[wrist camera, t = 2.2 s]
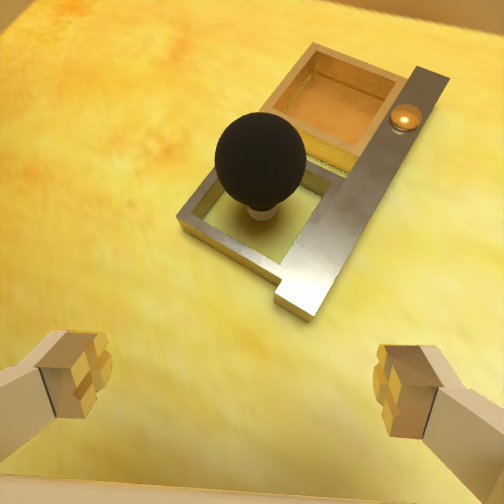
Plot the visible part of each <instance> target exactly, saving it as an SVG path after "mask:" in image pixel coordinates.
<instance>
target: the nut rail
mask: <svg viewBox="0 0 504 504" xmlns="http://www.w3.org/2000/svg"><path fill="white" fill-rule="evenodd" d="M312 74H313V76H312V77H311V78H310V76H311V75H312ZM309 78H310V79H309ZM308 79H309V81H308V82H307V80H308ZM449 80H450V78H448V77H445V76H443V75H440V74H437V73H435V72H432V71H429V70H427V69H424V68H421V67H419V66H416V68H415V69H414V71H413V73H412V74H411V76H410V77H409V79H407V78H404V77H401V76H399V75H396V74H394V73H391V72H389V71H386V70H383V69H381V68H378V67H376V66H373V65H370V64H368V63H365V62H363V61H360V60H358V59H355V58H352V57H350V56H347V55H345V54H342V53H340V52H337V51H334V50H332V49H329V48H327V47H324V46H322V45H319V44H316V43H314V42H313V43H312V44H311V45H310V46H309V48H308V49H307V50H306V51H305V53H304V54H303V55H302V56H301V58H300V59H299V60H298V62H297V63H296V64H295V65H294V67H293V68H292V69H291V70H290V72H289V73H288V74H287V75H286V77H285V78H284V79H283V81H282V82H281V83H280V84H279V86H278V87H277V88H276V89H275V91H274V92H273V93H272V94H271V96H270V97H269V98H268V100H267V101H266V102H265V103H264V105H263V106H262V107H261V108H260V110H259V112H265V113H271V114H275V115H278V116H280V117H282V118H283V119H285V120H287V121H288V122H289V123H290V124H291V125H292V126H293V127H294V128H295V129H296V130H297V131H298V133H299V134H300V136H301V138H302V140H303V143H304V147H305V151H306V153H307V154H309V155H312V156H314V157H316V158H318V159H320V160H322V161H324V162H326V163H328V164H330V165H332V166H335V167H337V168H339V169H341V170H343V171H345V172H347V173H349V175H348V176H347V178H346V179H345V178H343V177H341V176H339V175H337V174H335V173H332V172H330V171H328V170H326V169H324V168H322V167H320V166H318V165H316V164H314V163H312V162H310V161H308V160H306V168H305V173H304V176H303V178H302V181H301V183H300V184H299V185H301V186H303V187H305V188H307V189H309V190H311V191H313V192H315V193H317V194H319V195H321V196H323V198H322V199H321V201H320V203H319V204H318V206H317V207H316V209H315V210H314V212H313V213H312V215H311V217H310V218H309V220H308V221H307V223H306V224H305V226H304V228H303V229H302V231H301V232H300V234H299V235H298V237H297V239H296V240H295V242H294V243H293V245H292V246H291V248H290V249H289V251H288V253H287V254H286V256H285V257H284V259H283V260H282V262H281V264H280V265H279V264H277V263H275V262H273V261H272V260H270V259H268V258H267V257H265V256H263V255H261V254H260V253H258V252H256V251H254V250H253V249H251V248H249V247H248V246H246V245H244V244H242V243H241V242H239V241H237V240H236V239H234V238H232V237H230V236H229V235H227V234H225V233H223V232H222V231H220V230H218V229H217V228H215V227H213V226H211V225H210V224H208V223H206V222H204V221H203V220H202V219H203V218H204V217H205V215H206V214H207V213H208V211H209V210H210V209H211V207H212V206H213V205H214V203H215V202H216V201H217V199H218V198H219V197H220V195H221V194H222V193H223V191H224V190H225V189H224V188H223V186H222V185H221V183H220V181H219V179H218V177H217V173H216V168H215V167H214V168H213V169H212V171H211V172H210V173H209V174H208V176H207V177H206V178H205V179H204V181H203V182H202V183H201V185H200V186H199V187H198V188H197V190H196V191H195V192H194V193H193V195H192V196H191V197H190V198H189V200H188V201H187V202H186V204H185V205H184V206H183V207H182V209H181V210H180V211H179V212H178V214H177V215H176V218H177V220H178V222H179V223H180V225H181V227H182V228H183V230H184V231H186V232H188V233H189V234H191V235H193V236H194V237H196V238H198V239H199V240H201V241H203V242H204V243H206V244H208V245H209V246H211V247H213V248H214V249H216V250H218V251H219V252H221V253H223V254H224V255H226V256H228V257H229V258H231V259H233V260H234V261H236V262H238V263H239V264H241V265H243V266H245V267H246V268H248V269H250V270H251V271H253V272H255V273H256V274H258V275H260V276H261V277H263V278H265V279H266V280H268V281H270V282H271V283H273V284H275V285H276V286H278V288H277V289H276V291H275V295H274V302H275V303H276V304H278V305H280V306H281V307H283V308H285V309H286V310H288V311H289V312H291V313H293V314H294V315H296V316H298V317H299V318H301V319H303V320H304V321H306V322H307V323H309V322H310V321H311V319H312V318H313V317H314V315H315V313H316V312H317V310H318V308H319V306H320V305H321V303H322V301H323V299H324V298H325V296H326V294H327V292H328V291H329V289H330V287H331V285H332V284H333V282H334V280H335V278H336V277H337V275H338V273H339V272H340V270H341V268H342V266H343V265H344V263H345V261H346V259H347V258H348V256H349V254H350V252H351V251H352V249H353V247H354V245H355V244H356V242H357V240H358V238H359V237H360V235H361V233H362V231H363V230H364V228H365V226H366V224H367V223H368V221H369V219H370V217H371V216H372V214H373V212H374V210H375V209H376V207H377V205H378V203H379V202H380V200H381V198H382V197H383V195H384V193H385V191H386V190H387V188H388V186H389V184H390V183H391V181H392V179H393V177H394V176H395V174H396V172H397V170H398V169H399V167H400V165H401V163H402V162H403V160H404V158H405V156H406V155H407V153H408V151H409V149H410V148H411V146H412V144H413V142H414V141H415V139H416V137H417V135H418V134H419V132H420V130H421V128H422V127H423V125H424V123H425V122H426V120H427V118H428V116H429V115H430V113H431V111H432V109H433V108H434V106H435V104H436V102H437V101H438V99H439V97H440V95H441V94H442V92H443V90H444V88H445V87H446V85H447V83H448V81H449ZM306 82H307V83H306ZM305 83H306V85H305V86H304V84H305ZM303 86H304V87H303ZM302 87H303V89H302V90H301V88H302ZM300 90H301V91H300ZM299 91H300V93H299V94H298V92H299ZM297 94H298V95H297ZM296 95H297V97H296V98H295V96H296ZM294 98H295V99H294ZM293 99H294V101H293V102H292V100H293ZM291 102H292V103H291ZM290 103H291V105H290V106H289V104H290ZM288 106H289V107H288ZM287 107H288V109H287V110H286V108H287ZM285 110H286V111H285ZM284 111H285V113H283V112H284Z"/></svg>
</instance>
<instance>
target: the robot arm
mask: <svg viewBox="0 0 504 504" xmlns="http://www.w3.org/2000/svg"><path fill="white" fill-rule="evenodd" d="M107 344H108V340H107V337H106V334H104V333H103V332H92V331H77V330H71V331H70V330H57V329H56V330H53V331H50V332H49V333H48V334H47V335H46V336H45V337H44V338H43V339H42V340H41V341H40V342H39V343H38V344H37V345H36V346H35V347H34V348H33V349H32V350H31V351H30V352H29V353H28V354H27V355H26V356H25V357H24V358H23V359H22V360H21V361H20V362H19V363H18V364H17V365H16V366H9V367H7V368H5V369H3V370H1V371H0V462H2V461H3V460H4V459H5V458H7V457H8V456H9V455H11V454H12V453H13V452H14V451H16V450H17V449H18V448H20V447H21V446H22V445H23V444H25V443H26V442H27V441H29V440H30V439H31V438H32V437H34V436H35V435H36V434H38V433H39V432H40V431H41V430H43V429H44V428H45V427H47V426H48V425H49V424H50V423H52V422H53V421H54V420H55V419H56V418H80V419H85V418H86V417H87V415H88V413H89V412H90V410H91V409H92V407H93V405H94V404H95V402H96V400H97V396H96V392H98V391H99V390H101V389H102V388H104V387H105V386H106V384H107V382H108V380H109V378H110V375H111V371H112V358H111V355H110V354H109V353H108V352H107V351H106V350H105V347H106V346H107ZM377 358H378V360H379V363H378V364H377V365H376V366H375V367H374V372H373V388H374V393H375V397H376V400H377V402H378V403H380V404H381V405H382V406H383V411H382V417H383V420H384V423H385V426H386V429H387V432H388V435H389V437H399V438H411V439H422V440H423V442H424V443H425V444H426V445H427V446H428V448H429V449H430V450H431V451H432V452H433V453H434V454H435V455H436V456H437V457H438V458H439V459H440V460H441V461H442V462H443V463H444V464H445V465H446V466H447V467H448V468H449V469H450V470H451V471H452V472H453V474H454V475H455V476H456V477H457V478H458V479H459V480H460V481H461V482H462V483H463V484H464V485H465V486H466V487H467V488H468V489H469V490H470V491H471V492H472V493H473V494H474V495H475V496H476V497H477V498H478V499H479V501H480V502H481V503H482V504H504V409H502V408H501V407H499V406H498V405H496V404H495V403H493V402H491V401H490V400H488V399H487V398H485V397H484V396H482V395H481V394H479V393H477V392H476V391H474V390H473V389H466V388H465V386H464V385H463V383H462V382H461V380H460V379H459V377H458V376H457V374H456V373H455V371H454V370H453V368H452V367H451V366H450V364H449V363H448V361H447V360H446V358H445V357H444V355H443V354H442V352H441V351H440V349H439V348H438V347H437V346H435V345H395V344H380V345H379V347H378V350H377ZM0 504H416V503H402V502H388V501H374V500H360V499H346V498H332V497H318V496H303V495H289V494H275V493H261V492H247V491H233V490H219V489H205V488H191V487H177V486H163V485H149V484H135V483H121V482H107V481H93V480H79V479H65V478H51V477H37V476H23V475H9V474H0Z"/></svg>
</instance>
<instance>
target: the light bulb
mask: <svg viewBox="0 0 504 504" xmlns="http://www.w3.org/2000/svg"><path fill="white" fill-rule="evenodd" d="M215 168H216V173H217V177H218V179H219V181H220V183H221V185H222V186H223V188H224V189H225V191H226V192H227V193H228V194H229V195H230V196H231V197H232V198H234V199H235V200H236V201H238V202H240V203H242V204H245V205H247V211H248V213H249V215H250V216H251V217H252V218H254V219H255V220H258V221H266V220H269V219H271V218H272V217H273V216H274V215H275V213H276V211H277V204H278V203H280V202H282V201H284V200H285V199H287V198H288V197H289V196H290V195H291V194H292V193H294V191H295V190H296V189H297V187H298V186H299V184H300V183H301V181H302V178H303V176H304V173H305V168H306V151H305V147H304V143H303V140H302V138H301V136H300V134H299V133H298V131H297V130H296V129H295V128H294V127H293V126H292V125H291V124H290V123H289V122H288V121H287V120H285V119H283V118H282V117H280V116H278V115H275V114H271V113H265V112H256V113H250V114H247V115H244V116H242V117H240V118H238V119H237V120H235V121H234V122H232V123H231V124H230V125H229V126H228V127H227V128H226V129H225V131H224V132H223V134H222V135H221V137H220V139H219V141H218V143H217V147H216V152H215Z"/></svg>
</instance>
